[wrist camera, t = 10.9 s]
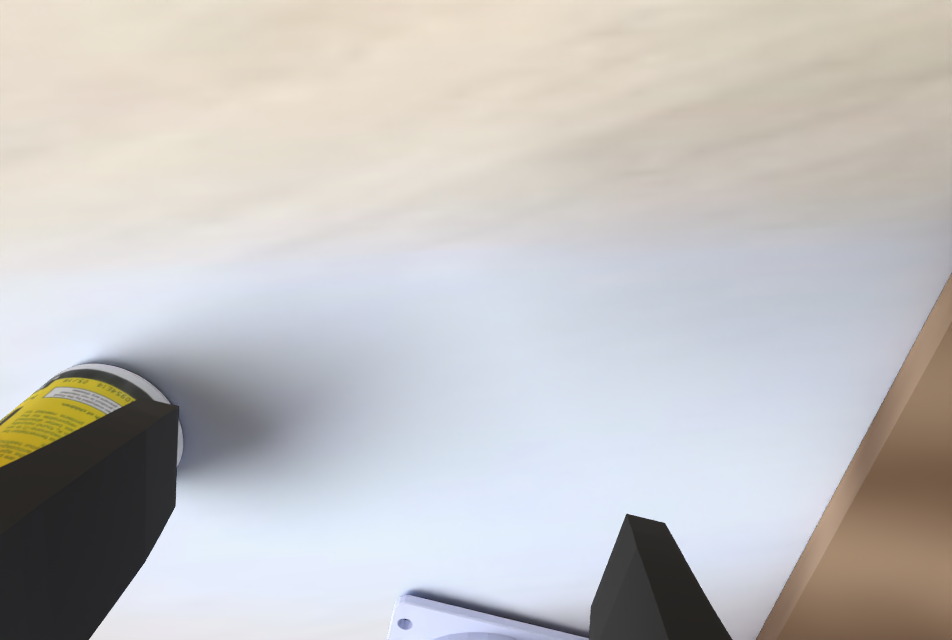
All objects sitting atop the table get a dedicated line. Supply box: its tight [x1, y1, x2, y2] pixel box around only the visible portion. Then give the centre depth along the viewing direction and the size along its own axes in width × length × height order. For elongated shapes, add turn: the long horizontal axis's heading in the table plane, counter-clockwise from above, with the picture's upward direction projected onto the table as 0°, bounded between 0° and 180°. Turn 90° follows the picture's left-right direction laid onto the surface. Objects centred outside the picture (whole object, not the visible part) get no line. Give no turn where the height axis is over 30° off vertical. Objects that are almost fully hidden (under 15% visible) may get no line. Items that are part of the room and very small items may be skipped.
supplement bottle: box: [0, 364, 183, 467], centre depth 21 cm, size 5×5×8 cm
